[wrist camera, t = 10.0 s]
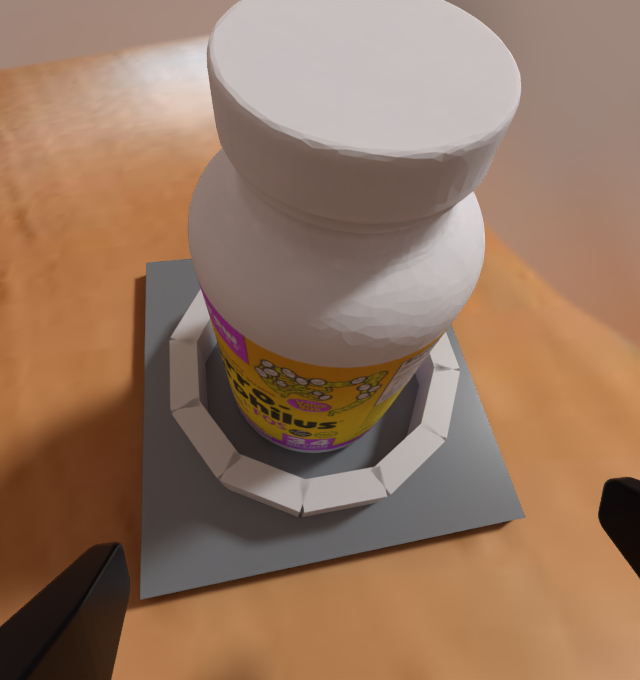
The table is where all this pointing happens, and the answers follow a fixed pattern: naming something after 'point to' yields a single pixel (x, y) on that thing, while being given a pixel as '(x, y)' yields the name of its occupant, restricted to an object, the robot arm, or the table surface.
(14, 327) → the table surface
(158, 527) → the socket plate
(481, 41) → the supplement bottle
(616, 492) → the robot arm
